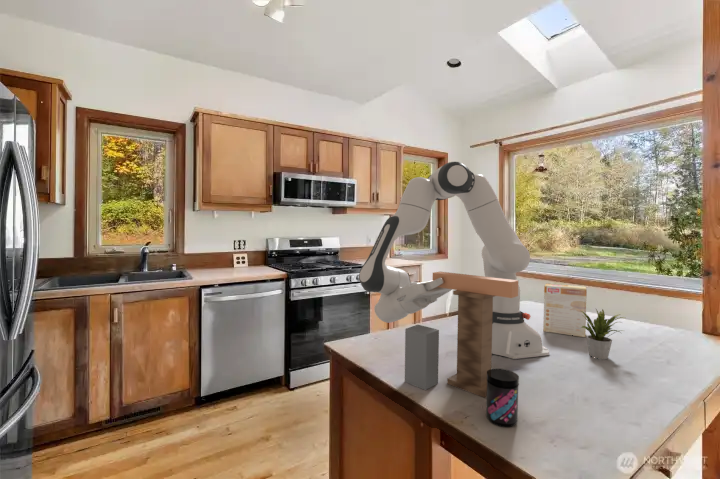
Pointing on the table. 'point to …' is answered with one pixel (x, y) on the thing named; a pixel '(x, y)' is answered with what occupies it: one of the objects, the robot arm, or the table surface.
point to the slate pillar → (421, 356)
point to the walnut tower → (473, 342)
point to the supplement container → (502, 397)
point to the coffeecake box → (564, 309)
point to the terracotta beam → (478, 284)
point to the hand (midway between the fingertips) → (449, 278)
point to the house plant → (600, 335)
